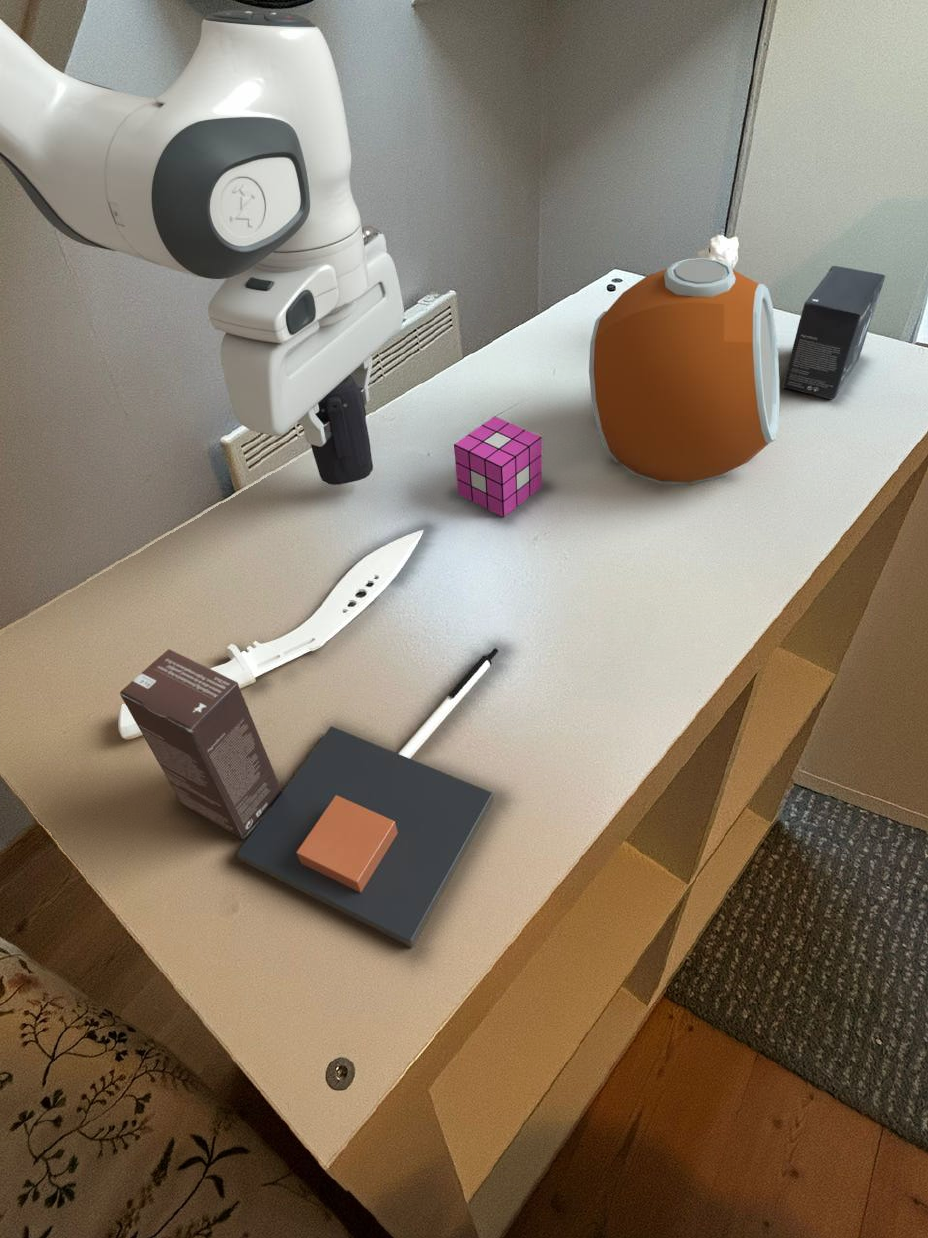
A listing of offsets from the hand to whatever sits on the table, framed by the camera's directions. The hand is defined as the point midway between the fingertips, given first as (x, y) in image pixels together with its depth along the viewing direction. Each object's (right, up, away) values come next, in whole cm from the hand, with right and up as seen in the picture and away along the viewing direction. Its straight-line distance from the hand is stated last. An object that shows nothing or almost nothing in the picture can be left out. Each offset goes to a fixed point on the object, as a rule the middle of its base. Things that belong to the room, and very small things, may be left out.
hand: (339, 422), depth 73 cm
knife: (-3, -18, -5) cm, 19 cm away
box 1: (-5, -30, -16) cm, 34 cm away
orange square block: (+4, -32, -21) cm, 38 cm away
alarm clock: (+32, -1, +8) cm, 33 cm away
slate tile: (+5, -31, -19) cm, 37 cm away
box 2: (+49, +9, +15) cm, 52 cm away
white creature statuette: (+38, +14, +21) cm, 45 cm away
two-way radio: (0, -4, +4) cm, 6 cm away
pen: (+8, -26, -14) cm, 31 cm away
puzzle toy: (+14, -5, +5) cm, 16 cm away
